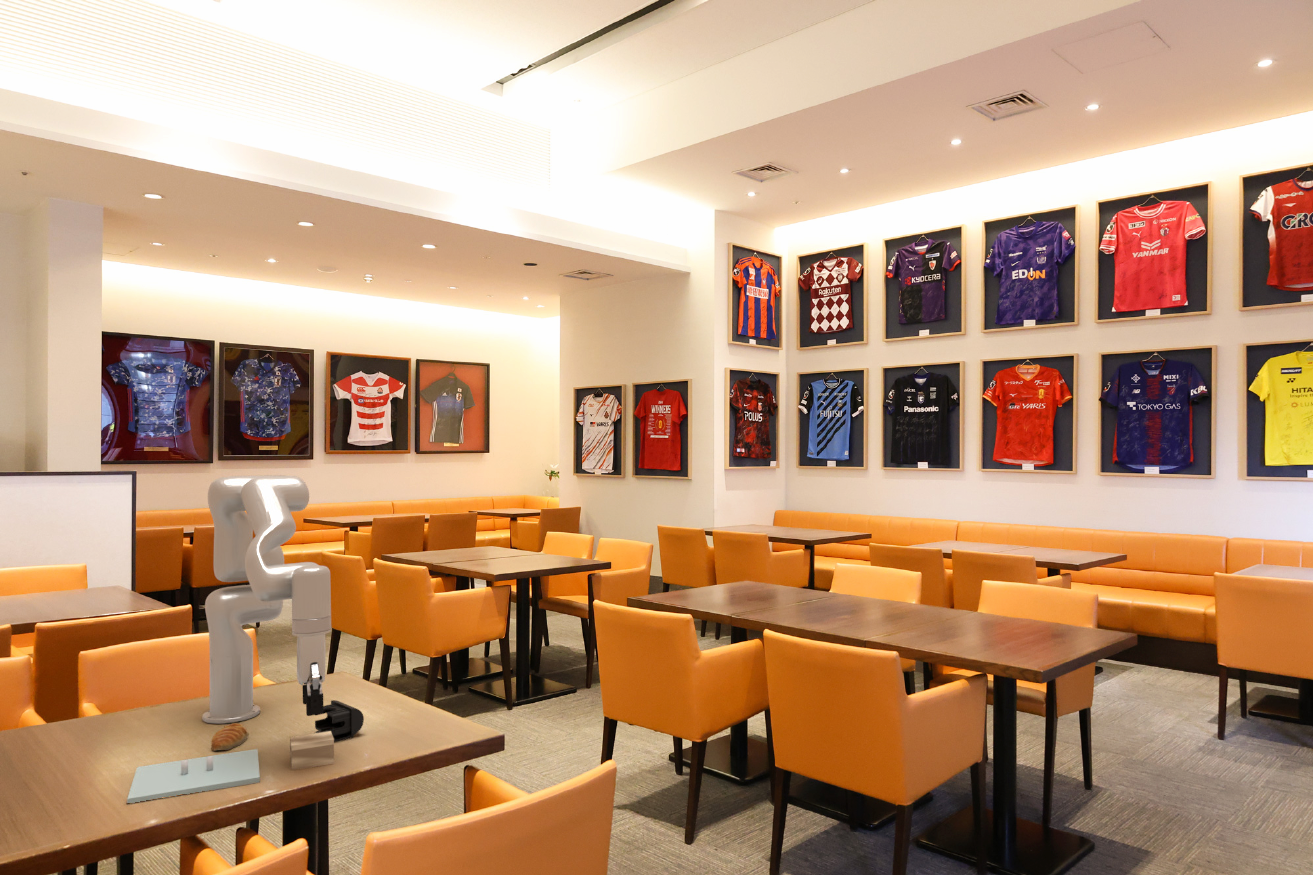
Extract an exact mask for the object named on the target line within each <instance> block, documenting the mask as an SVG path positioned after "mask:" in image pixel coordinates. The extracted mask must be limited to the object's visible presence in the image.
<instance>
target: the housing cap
mask: <svg viewBox="0 0 1313 875" xmlns="http://www.w3.org/2000/svg"><path fill="white" fill-rule="evenodd" d="M289 762H290V763H291V771H296V770H302V769H309V768H313V767H321V766H326V765H333V764H335V742H334V738H333V735H332V733H331V731H327V732H321V733H316V732H314V733H309V734H301V735H296V736H290V737H289Z"/></svg>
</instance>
